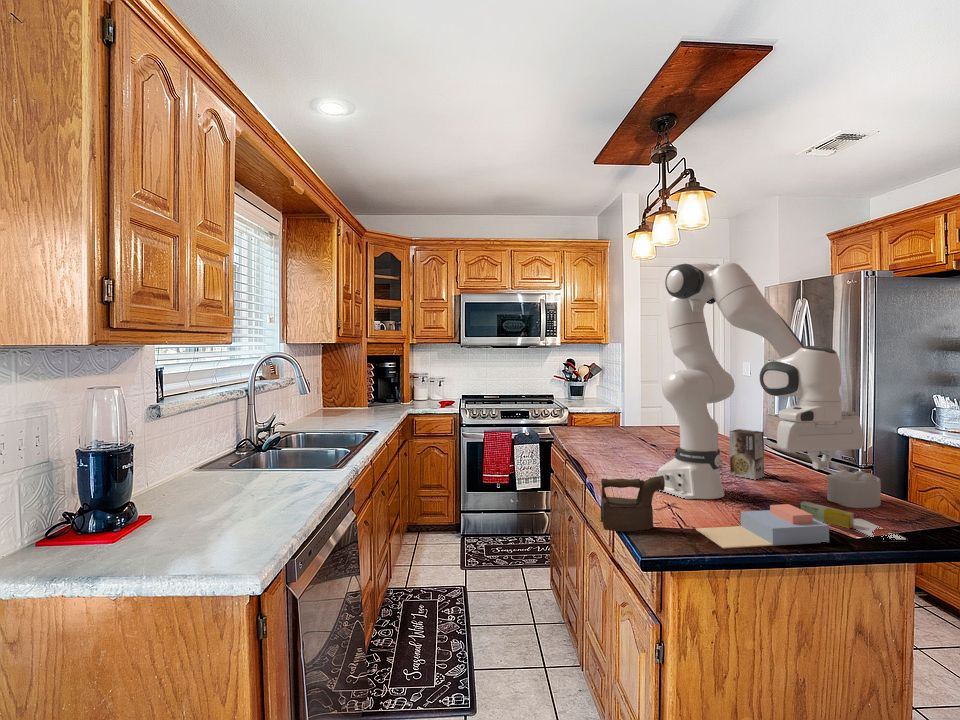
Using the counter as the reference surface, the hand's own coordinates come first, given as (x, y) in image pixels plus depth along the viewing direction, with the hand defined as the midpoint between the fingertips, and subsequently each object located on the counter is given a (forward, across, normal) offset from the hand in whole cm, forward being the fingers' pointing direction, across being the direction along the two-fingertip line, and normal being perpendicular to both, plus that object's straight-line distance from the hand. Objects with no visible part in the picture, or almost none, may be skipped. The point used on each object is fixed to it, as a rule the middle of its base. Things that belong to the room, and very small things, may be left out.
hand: (820, 468), depth 122 cm
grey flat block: (+16, +10, -1) cm, 19 cm away
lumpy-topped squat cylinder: (+16, -28, -21) cm, 39 cm away
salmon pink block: (+12, +8, 0) cm, 14 cm away
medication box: (+16, -7, -7) cm, 19 cm away
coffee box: (+15, -15, -52) cm, 56 cm away
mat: (+16, +23, -1) cm, 28 cm away
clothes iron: (+16, +44, -11) cm, 48 cm away
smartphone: (+16, -13, -1) cm, 21 cm away
